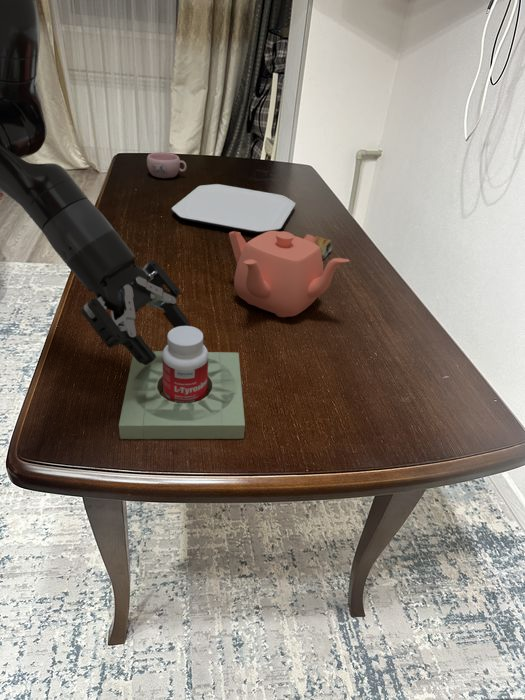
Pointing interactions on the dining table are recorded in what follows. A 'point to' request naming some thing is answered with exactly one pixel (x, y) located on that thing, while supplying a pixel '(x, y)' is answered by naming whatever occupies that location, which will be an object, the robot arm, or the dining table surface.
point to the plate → (235, 208)
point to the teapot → (281, 271)
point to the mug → (164, 164)
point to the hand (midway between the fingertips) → (169, 345)
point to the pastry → (323, 245)
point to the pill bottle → (185, 365)
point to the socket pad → (184, 418)
